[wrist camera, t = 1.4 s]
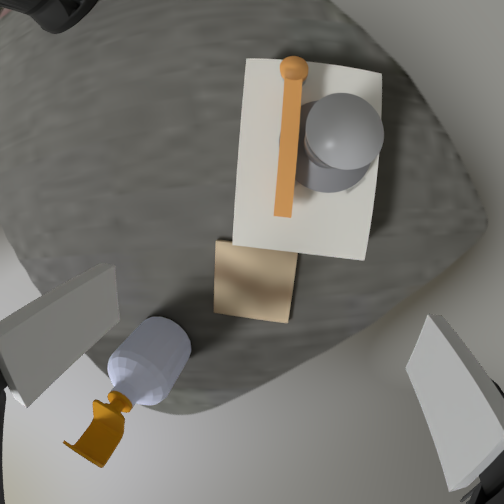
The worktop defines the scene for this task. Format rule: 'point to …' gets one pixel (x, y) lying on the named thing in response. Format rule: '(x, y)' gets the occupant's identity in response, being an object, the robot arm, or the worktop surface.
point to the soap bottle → (135, 383)
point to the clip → (289, 133)
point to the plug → (337, 142)
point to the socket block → (304, 200)
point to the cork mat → (253, 282)
